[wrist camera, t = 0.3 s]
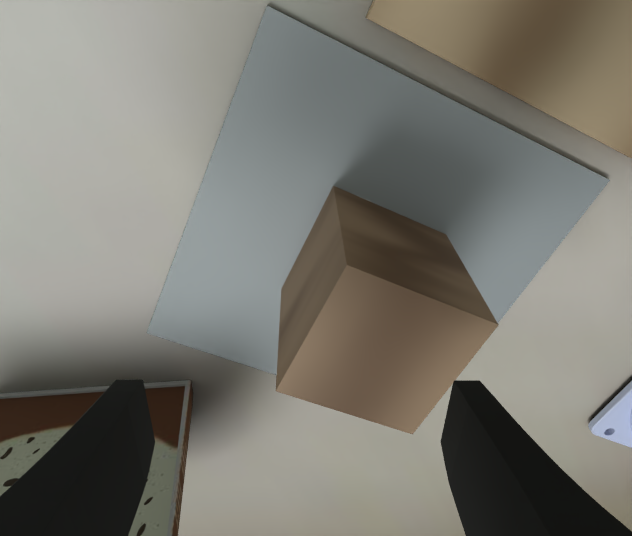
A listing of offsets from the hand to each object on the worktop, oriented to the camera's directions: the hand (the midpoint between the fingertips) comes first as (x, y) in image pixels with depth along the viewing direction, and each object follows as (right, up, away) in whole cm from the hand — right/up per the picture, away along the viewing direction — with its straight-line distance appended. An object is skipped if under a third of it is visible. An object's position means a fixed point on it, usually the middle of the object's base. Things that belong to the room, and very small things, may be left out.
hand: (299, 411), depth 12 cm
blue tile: (+2, +4, +9) cm, 10 cm away
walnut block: (+2, +4, +9) cm, 10 cm away
